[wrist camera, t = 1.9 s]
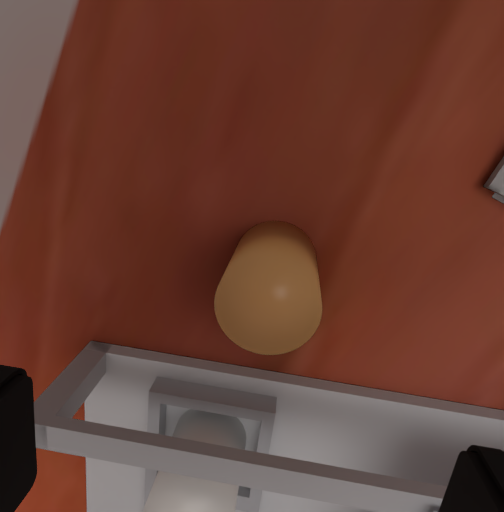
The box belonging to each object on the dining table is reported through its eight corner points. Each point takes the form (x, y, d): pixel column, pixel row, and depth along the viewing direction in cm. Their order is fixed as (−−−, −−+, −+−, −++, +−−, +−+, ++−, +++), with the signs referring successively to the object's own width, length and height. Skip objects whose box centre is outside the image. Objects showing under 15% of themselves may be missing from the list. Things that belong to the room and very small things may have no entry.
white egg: (178, 399, 21) (143, 480, 16) (250, 412, 21) (236, 497, 16) (174, 455, 22) (141, 545, 18) (242, 468, 22) (227, 562, 17)
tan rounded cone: (239, 215, 18) (219, 249, 14) (323, 227, 18) (331, 265, 14) (230, 290, 20) (209, 345, 15) (308, 303, 19) (312, 362, 15)
